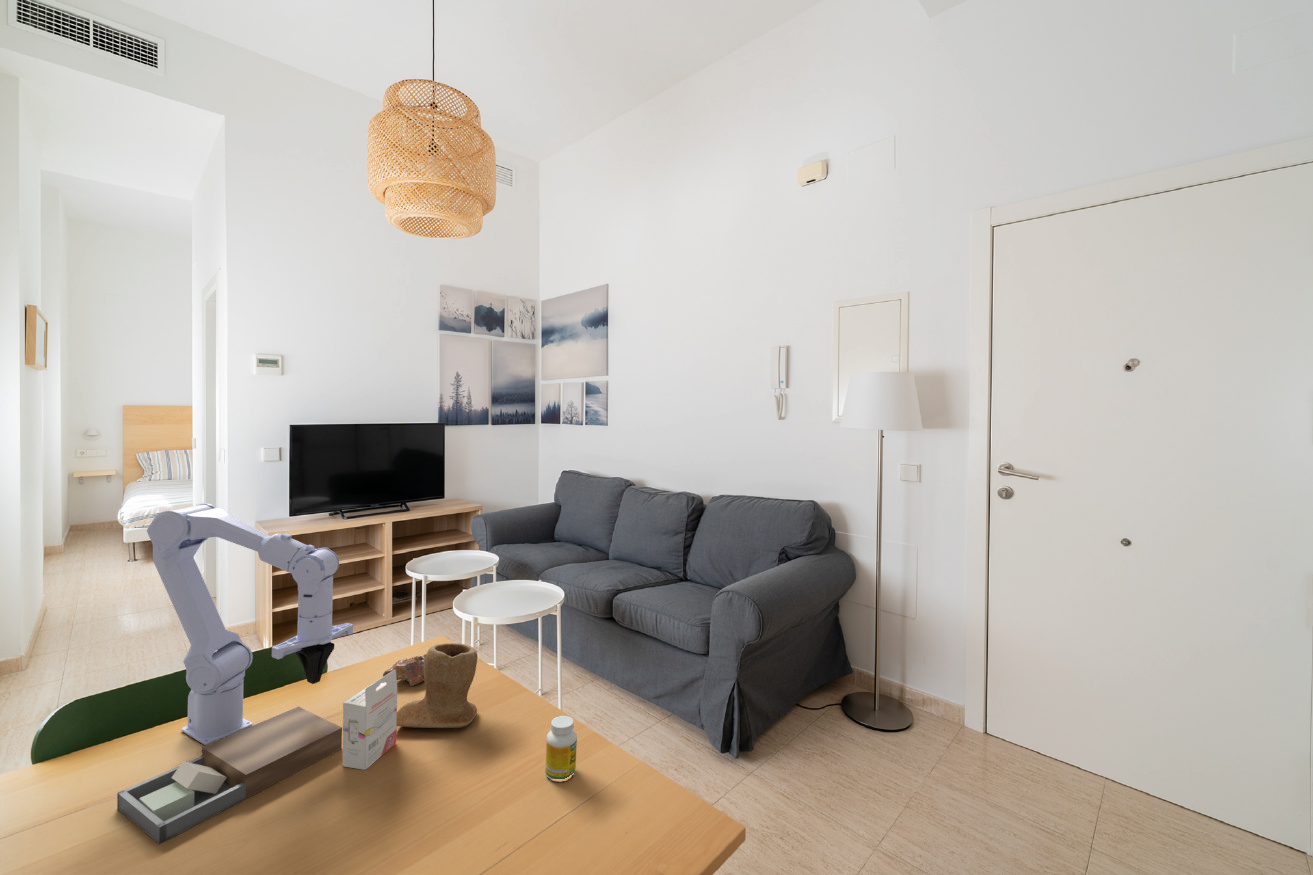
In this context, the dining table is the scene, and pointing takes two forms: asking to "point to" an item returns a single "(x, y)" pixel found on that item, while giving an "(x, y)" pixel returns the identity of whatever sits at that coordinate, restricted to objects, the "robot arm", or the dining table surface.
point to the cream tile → (199, 777)
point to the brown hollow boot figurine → (443, 689)
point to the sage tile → (169, 801)
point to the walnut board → (273, 749)
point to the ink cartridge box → (370, 723)
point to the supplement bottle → (561, 748)
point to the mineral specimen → (409, 670)
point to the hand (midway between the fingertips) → (313, 681)
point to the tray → (201, 811)
